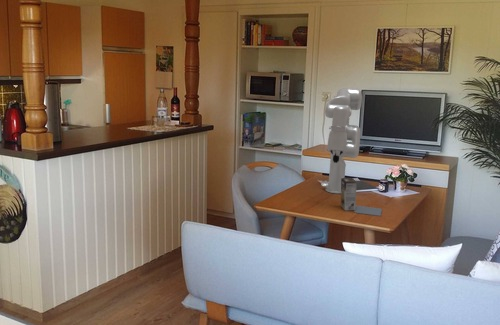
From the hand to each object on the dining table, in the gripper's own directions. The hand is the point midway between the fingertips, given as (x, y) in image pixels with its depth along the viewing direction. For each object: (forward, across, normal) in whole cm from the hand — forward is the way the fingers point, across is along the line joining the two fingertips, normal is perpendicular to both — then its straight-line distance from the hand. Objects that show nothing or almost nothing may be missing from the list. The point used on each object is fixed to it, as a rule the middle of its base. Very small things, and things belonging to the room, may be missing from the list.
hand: (335, 162), depth 285 cm
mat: (+25, +20, 0) cm, 32 cm away
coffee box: (+25, +9, 0) cm, 27 cm away
